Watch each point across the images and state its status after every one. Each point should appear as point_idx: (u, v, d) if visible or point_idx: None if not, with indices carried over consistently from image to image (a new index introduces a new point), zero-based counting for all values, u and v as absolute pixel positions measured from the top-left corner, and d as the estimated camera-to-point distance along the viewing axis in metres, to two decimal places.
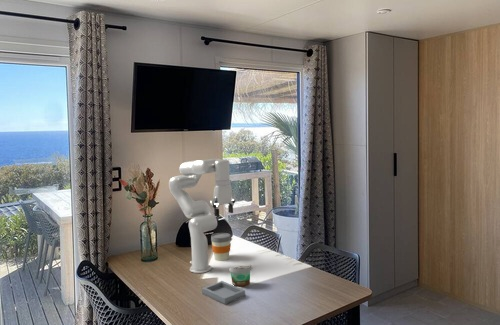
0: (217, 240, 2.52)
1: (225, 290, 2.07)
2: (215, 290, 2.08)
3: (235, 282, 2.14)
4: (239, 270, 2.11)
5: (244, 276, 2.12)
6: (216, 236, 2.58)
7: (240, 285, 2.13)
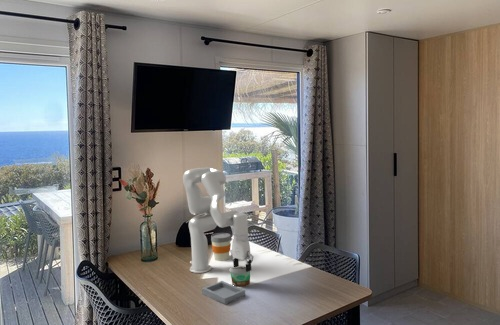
0: (217, 240, 2.52)
1: (225, 290, 2.07)
2: (215, 290, 2.08)
3: (235, 282, 2.14)
4: (239, 270, 2.11)
5: (244, 276, 2.12)
6: (216, 236, 2.58)
7: (240, 285, 2.13)
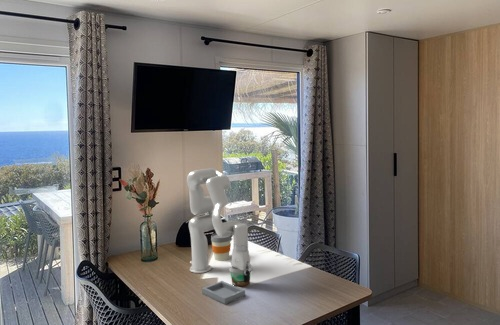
0: (217, 240, 2.52)
1: (225, 290, 2.07)
2: (215, 290, 2.08)
3: (235, 282, 2.14)
4: (239, 270, 2.11)
5: None
6: (216, 236, 2.58)
7: (240, 285, 2.13)
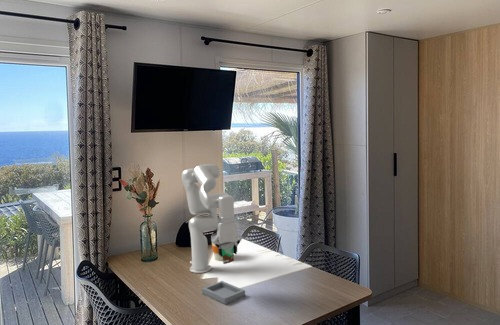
0: None
1: (225, 290, 2.07)
2: (215, 290, 2.08)
3: (229, 258, 2.02)
4: (232, 243, 2.03)
5: (233, 248, 2.06)
6: (216, 236, 2.58)
7: (233, 259, 2.04)
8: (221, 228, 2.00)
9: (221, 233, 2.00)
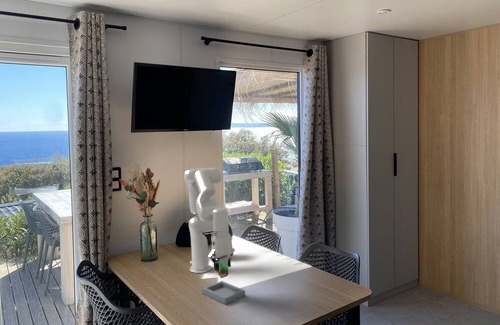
0: None
1: (225, 290, 2.07)
2: (215, 290, 2.08)
3: (226, 272, 1.99)
4: None
5: None
6: None
7: None
8: (218, 242, 1.97)
9: (218, 247, 1.97)
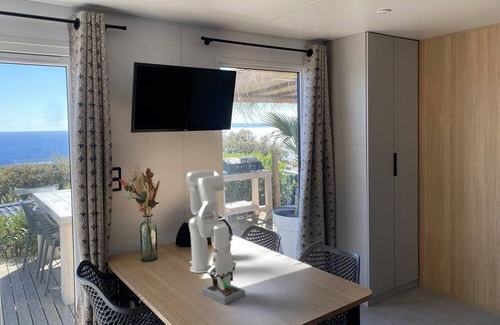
0: None
1: None
2: (215, 290, 2.08)
3: (229, 290, 2.01)
4: None
5: None
6: None
7: None
8: (219, 259, 1.97)
9: (219, 264, 1.97)
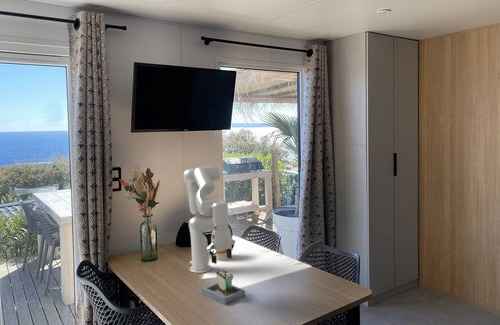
0: None
1: None
2: (215, 290, 2.08)
3: (230, 290, 2.01)
4: (232, 274, 2.04)
5: None
6: None
7: None
8: (218, 236, 1.96)
9: (218, 241, 1.97)
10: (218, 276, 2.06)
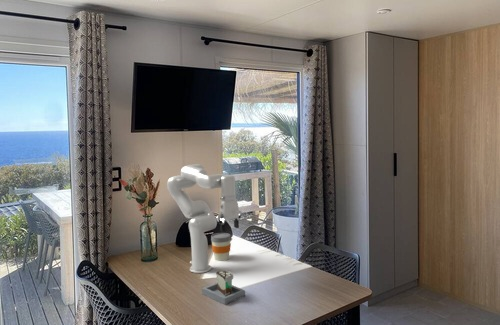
0: (217, 240, 2.52)
1: None
2: (215, 290, 2.08)
3: (230, 290, 2.01)
4: (232, 274, 2.04)
5: None
6: (216, 236, 2.58)
7: None
8: (226, 205, 2.15)
9: (226, 210, 2.15)
10: (218, 276, 2.06)
